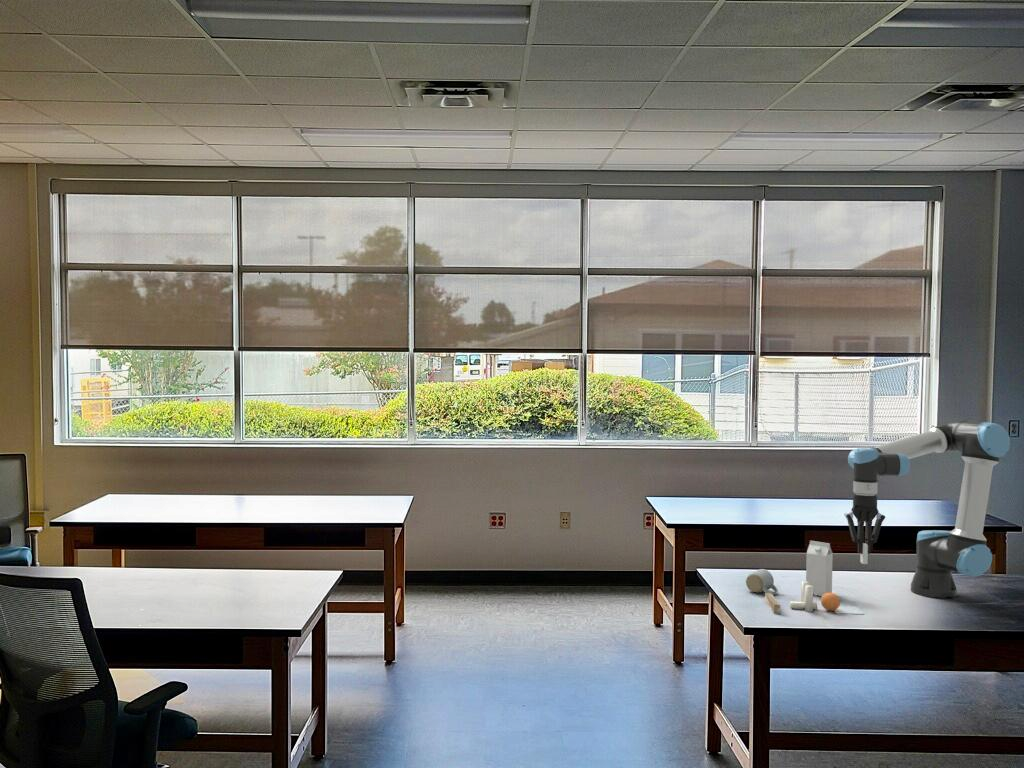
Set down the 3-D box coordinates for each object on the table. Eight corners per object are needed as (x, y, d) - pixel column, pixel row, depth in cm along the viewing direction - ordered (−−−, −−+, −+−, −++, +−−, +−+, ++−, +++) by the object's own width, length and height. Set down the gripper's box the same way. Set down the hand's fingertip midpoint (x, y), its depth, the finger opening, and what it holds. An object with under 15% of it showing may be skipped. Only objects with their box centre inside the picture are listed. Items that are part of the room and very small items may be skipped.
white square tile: (855, 607, 273) (856, 606, 273) (863, 614, 265) (863, 613, 265) (829, 606, 274) (829, 605, 274) (836, 613, 266) (836, 612, 266)
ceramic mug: (744, 591, 292) (744, 570, 292) (754, 587, 298) (755, 566, 298) (771, 597, 285) (771, 576, 284) (781, 593, 290) (782, 572, 290)
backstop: (770, 601, 279) (770, 593, 279) (780, 613, 265) (780, 604, 265) (765, 601, 279) (765, 592, 279) (774, 613, 265) (774, 604, 265)
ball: (815, 602, 273) (831, 609, 273) (821, 609, 267) (837, 616, 267) (823, 587, 272) (839, 593, 272) (829, 594, 266) (845, 600, 266)
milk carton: (812, 589, 295) (813, 539, 295) (831, 593, 291) (832, 541, 290) (805, 593, 290) (806, 542, 289) (825, 597, 285) (826, 545, 285)
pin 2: (811, 610, 270) (811, 585, 270) (813, 612, 267) (813, 587, 267) (804, 609, 270) (804, 585, 270) (806, 611, 268) (806, 586, 267)
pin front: (815, 601, 272) (789, 600, 273) (817, 603, 270) (791, 602, 270) (815, 608, 272) (789, 607, 273) (817, 610, 270) (791, 609, 271)
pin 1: (807, 605, 275) (807, 581, 275) (809, 607, 272) (809, 583, 272) (800, 605, 275) (800, 581, 275) (802, 607, 273) (802, 582, 272)
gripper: (848, 495, 266) (847, 565, 266) (889, 496, 264) (887, 566, 265) (841, 491, 273) (840, 559, 273) (881, 492, 272) (879, 561, 272)
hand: (863, 563), depth 269 cm, fingers closed
